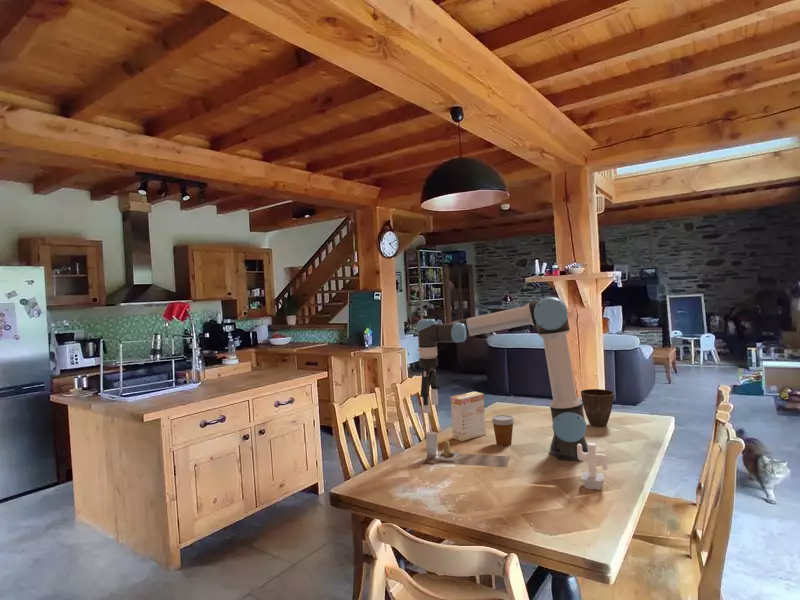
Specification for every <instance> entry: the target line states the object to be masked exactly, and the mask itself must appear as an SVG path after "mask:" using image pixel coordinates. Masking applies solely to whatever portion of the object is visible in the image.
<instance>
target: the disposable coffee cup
mask: <svg viewBox="0 0 800 600" xmlns="http://www.w3.org/2000/svg"><path fill="white" fill-rule="evenodd" d="M491 422H492V424H493V425H492V426H493V431H494V436H495V443H496V444H495V445H497V446H499V447H508V446H512V441H513V440H512V438H513V430H514V429H513V428H514V422H515V420H514V417H513V416H511V415H509V414H508V415H506V414H498V415H494V416H492V419H491Z"/></svg>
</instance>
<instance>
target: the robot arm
mask: <svg viewBox="0 0 800 600" xmlns="http://www.w3.org/2000/svg"><path fill="white" fill-rule="evenodd" d="M568 315H569V313H568V308H567V306H566V304H565V303H564V302H563V300H562V299H561V298H558V297H556V296H549V295H548V296H544V297H543V298H541V299H538V300H535V301H532V302H531V301H530V302H528V303H526V305H524V306H521V307H516V308H511V309H504V310H501V311H496V312H492V313H486V314H481V315H478V316H472V317H468V318H464V319H463V318H462V319H460V320H459V319H457V320H453V321H452V322H450V323H437V321H436V319H435V318H426V319H425V318H424V319H419V320H418V321H417V340H418V349H417V352H418V357H419V358H418V360H419V361H418V362H419V367H420V368H423V371H421V385H420V386H421V387H420V395H419V397H420V398H422V414H431V406H439V396H438V395H439V393H438V390H439V389H440V386H439V381H438V376H437V367H438V366H439V360H438V359H439V358H438V357H437V356H438V344H437V343H455V344H456V343H462V342H465V341H466V340H467V337H472V336H476V335H477V336H478V335H482V334H487V333H488V334H489V333H492V332H497V331H502V330H506V329H507V330H508V329H512V328H518V327H523V326H528V325H532V326H534V327H535V326H536V329H537V335H538V336H539V337H541V338H542V341H543V347H544V352H545V359H546V363H547V364H546V365H547V366H546V367H547V371H548V376H549V383H550V387H551V395H552V402H550V404H549V406H550V407H549V408H550V414H551V420H552V430H553V437H552V440H551V443H550V447H549V454H551V456H553V457H556V459H558V460H564V461H580V460H579V459H578V456H577V445H578V444H581V445H582V451H583V452H585V453H588V449H587V444H588V442H587V440H586V438H585V434H586V432H587V428H588V426H587V423H586V419H585V418H586V417H585V414H584V412H585V411H584V406H583V401H582V398H580V397H577V391H576V385H575V380H574V378H575V377H574V373H573V367H572V360H571V354H570V350H569V349H570V348H569V343H568V342H569V341H568V338H567V335H568V333H569V332H570V331H571V330H570V323H569V317H568ZM430 388H431V389H430ZM430 402H431V403H430Z"/></svg>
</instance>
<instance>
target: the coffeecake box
mask: <svg viewBox="0 0 800 600" xmlns="http://www.w3.org/2000/svg"><path fill="white" fill-rule="evenodd" d="M450 411H451V412H450V415H451V430H452V431H451V433H452V439H454V440H458V441H460V442H463V441H467V440H472V439H473V438H474V439H475V438H478V437H481V436H485V435H486V418H485V416H486V415H485V395H484V393H482V392H478V391H471V392H466V393H462V394H457V395H453V396H450Z"/></svg>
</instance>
